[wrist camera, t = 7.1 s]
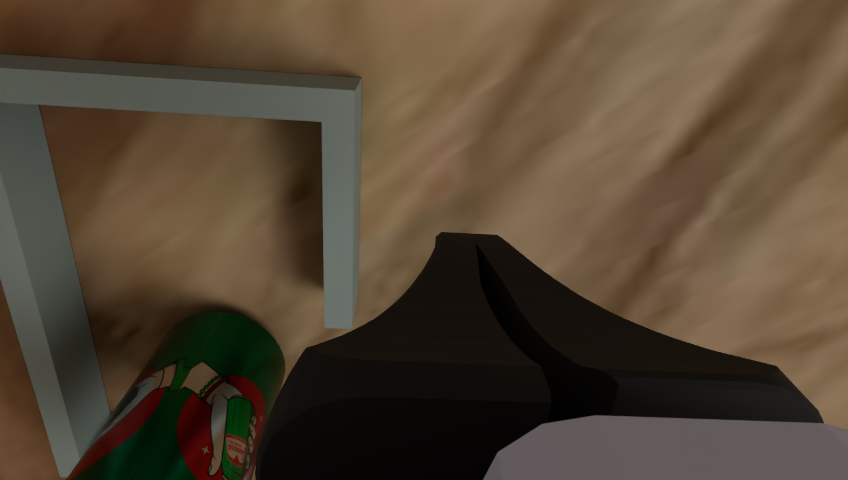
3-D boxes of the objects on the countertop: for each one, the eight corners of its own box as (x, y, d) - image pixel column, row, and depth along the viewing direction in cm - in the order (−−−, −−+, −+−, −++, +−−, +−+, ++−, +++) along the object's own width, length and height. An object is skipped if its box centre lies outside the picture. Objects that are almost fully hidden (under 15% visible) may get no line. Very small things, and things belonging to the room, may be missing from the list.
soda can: (170, 393, 24) (-30, 731, 13) (164, 296, 22) (-77, 603, 11) (285, 405, 24) (185, 742, 14) (291, 311, 22) (177, 621, 11)
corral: (353, 547, 29) (348, 595, 26) (120, 541, 28) (94, 590, 26) (361, 77, 18) (355, 90, 16) (-5, 53, 18) (-66, 63, 16)
